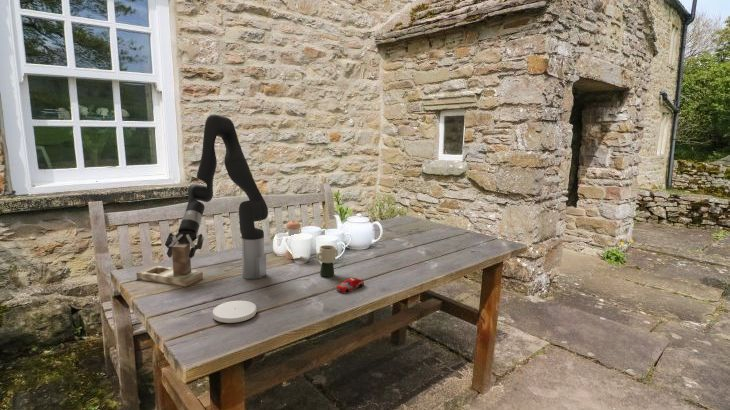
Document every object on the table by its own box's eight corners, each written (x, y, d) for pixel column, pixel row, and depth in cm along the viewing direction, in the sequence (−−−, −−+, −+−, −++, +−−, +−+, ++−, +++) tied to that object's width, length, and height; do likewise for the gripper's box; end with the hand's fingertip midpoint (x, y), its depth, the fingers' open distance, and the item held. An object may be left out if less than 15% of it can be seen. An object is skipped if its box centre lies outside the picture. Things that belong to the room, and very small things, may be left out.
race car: (343, 295, 154) (343, 286, 153) (333, 291, 157) (333, 282, 156) (365, 286, 163) (366, 277, 162) (356, 283, 167) (356, 274, 166)
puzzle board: (202, 278, 166) (202, 271, 165) (186, 286, 156) (186, 279, 156) (155, 271, 172) (154, 264, 171) (136, 279, 162) (136, 272, 161)
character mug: (332, 270, 180) (332, 243, 178) (341, 275, 175) (342, 247, 173) (312, 275, 173) (312, 247, 171) (321, 280, 168) (321, 251, 166)
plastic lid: (229, 304, 142) (229, 298, 141) (264, 310, 138) (264, 304, 138) (203, 321, 129) (203, 314, 128) (240, 328, 125) (240, 321, 124)
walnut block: (191, 271, 164) (189, 243, 162) (185, 275, 159) (184, 247, 157) (179, 271, 164) (177, 243, 162) (173, 275, 159) (171, 246, 157)
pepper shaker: (283, 257, 198) (283, 220, 195) (294, 254, 203) (294, 218, 200) (291, 260, 193) (291, 222, 190) (303, 257, 199) (303, 220, 195)
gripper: (170, 218, 165) (158, 252, 156) (204, 219, 166) (194, 253, 156) (177, 227, 172) (165, 260, 162) (209, 228, 172) (200, 261, 162)
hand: (179, 256), depth 159 cm, fingers open, 8 cm apart
